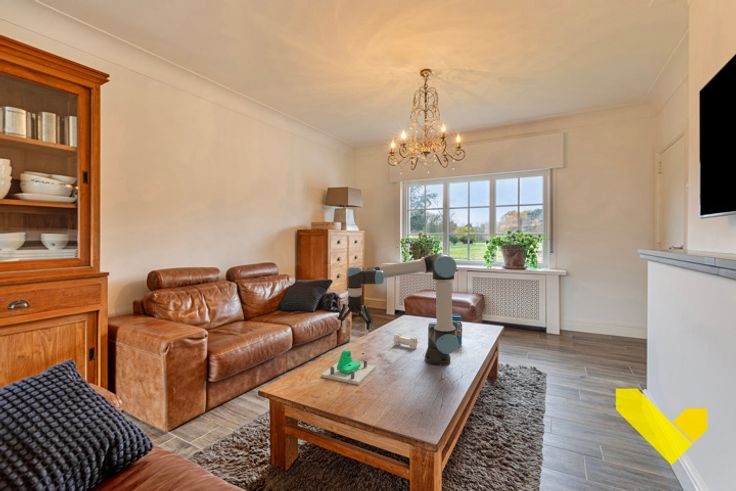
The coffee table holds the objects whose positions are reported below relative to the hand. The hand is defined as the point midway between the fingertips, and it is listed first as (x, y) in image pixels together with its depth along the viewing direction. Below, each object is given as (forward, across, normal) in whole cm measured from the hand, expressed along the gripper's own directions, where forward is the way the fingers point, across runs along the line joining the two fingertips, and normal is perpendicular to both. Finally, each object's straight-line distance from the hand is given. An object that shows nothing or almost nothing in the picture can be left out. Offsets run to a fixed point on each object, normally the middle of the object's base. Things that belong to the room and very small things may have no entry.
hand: (355, 334), depth 185 cm
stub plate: (+21, +2, +3) cm, 21 cm away
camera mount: (+20, +2, +3) cm, 20 cm away
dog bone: (+22, -13, -51) cm, 57 cm away
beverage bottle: (+22, -43, -70) cm, 85 cm away
